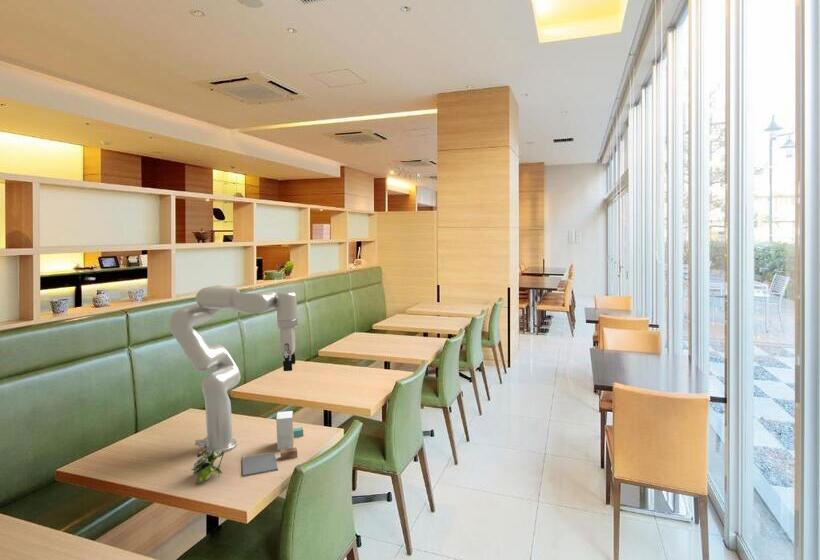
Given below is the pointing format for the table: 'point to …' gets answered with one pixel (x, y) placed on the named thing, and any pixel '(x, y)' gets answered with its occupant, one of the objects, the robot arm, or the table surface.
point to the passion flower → (206, 465)
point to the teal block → (298, 432)
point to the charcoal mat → (259, 464)
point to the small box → (285, 430)
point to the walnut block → (288, 453)
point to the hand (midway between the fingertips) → (289, 367)
